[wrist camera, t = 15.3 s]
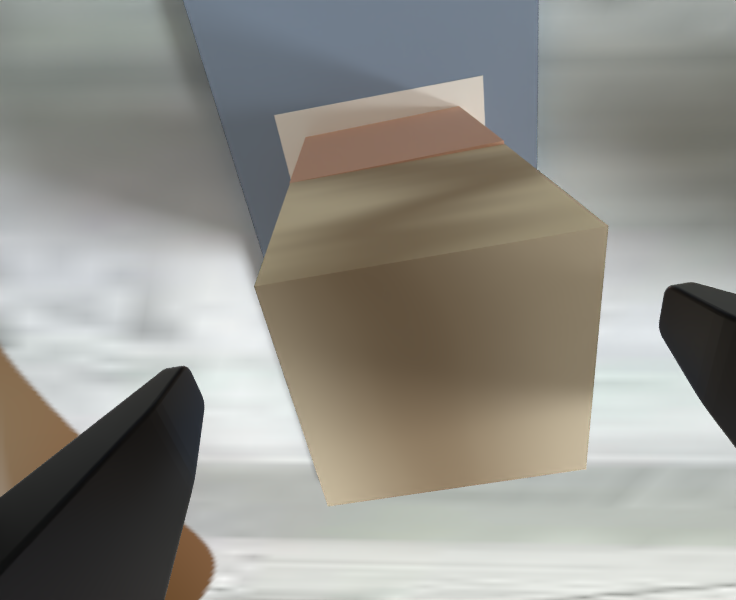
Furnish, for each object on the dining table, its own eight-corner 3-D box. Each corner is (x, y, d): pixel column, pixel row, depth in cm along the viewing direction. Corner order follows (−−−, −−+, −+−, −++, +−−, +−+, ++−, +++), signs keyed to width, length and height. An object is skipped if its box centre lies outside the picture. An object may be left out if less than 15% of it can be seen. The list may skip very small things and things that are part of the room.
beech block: (504, 143, 11) (609, 225, 7) (509, 324, 13) (585, 468, 9) (289, 182, 11) (254, 285, 7) (334, 352, 14) (327, 506, 9)
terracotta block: (459, 106, 15) (503, 140, 11) (470, 248, 18) (511, 321, 13) (305, 137, 15) (289, 182, 11) (338, 272, 18) (336, 352, 14)
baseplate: (530, -588, 9) (545, -639, 9) (528, 452, 25) (534, 466, 24) (49, -461, 10) (26, -499, 9) (338, 480, 25) (337, 494, 24)
